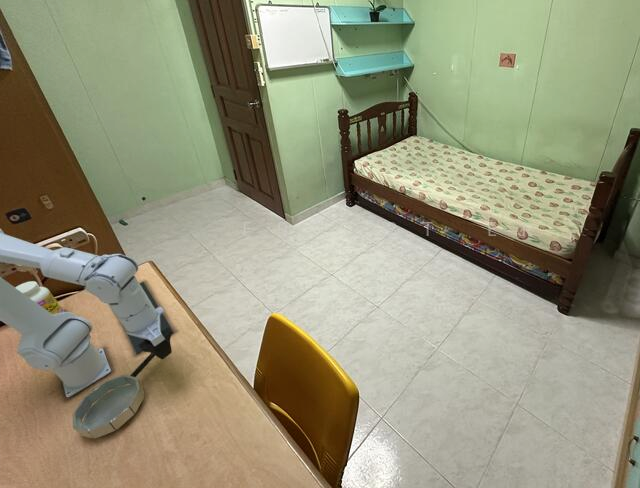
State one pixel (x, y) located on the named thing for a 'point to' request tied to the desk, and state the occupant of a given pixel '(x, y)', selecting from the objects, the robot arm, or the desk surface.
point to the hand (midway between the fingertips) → (159, 346)
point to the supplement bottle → (40, 296)
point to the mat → (163, 322)
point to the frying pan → (110, 404)
